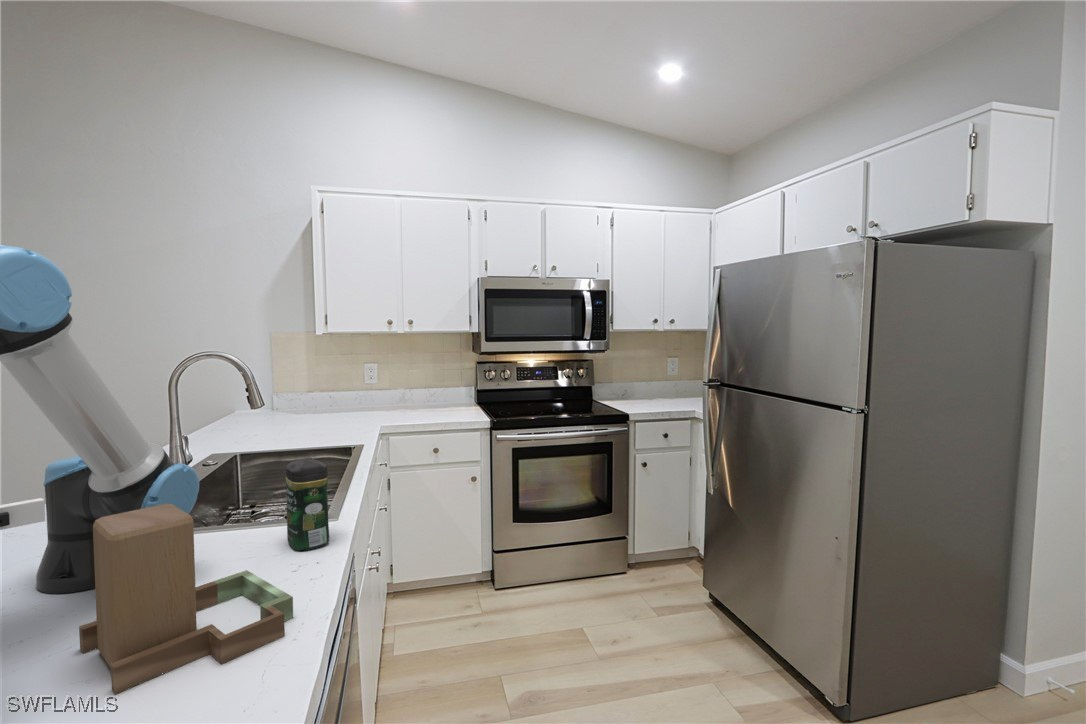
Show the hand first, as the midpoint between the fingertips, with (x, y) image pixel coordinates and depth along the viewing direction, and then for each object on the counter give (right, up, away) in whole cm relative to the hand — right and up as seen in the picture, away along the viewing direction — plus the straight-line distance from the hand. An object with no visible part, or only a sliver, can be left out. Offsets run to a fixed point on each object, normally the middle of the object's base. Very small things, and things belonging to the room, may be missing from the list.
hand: (43, 509), depth 69 cm
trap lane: (+9, -23, +14) cm, 29 cm away
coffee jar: (+12, -21, +50) cm, 55 cm away
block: (+6, -23, +10) cm, 26 cm away
